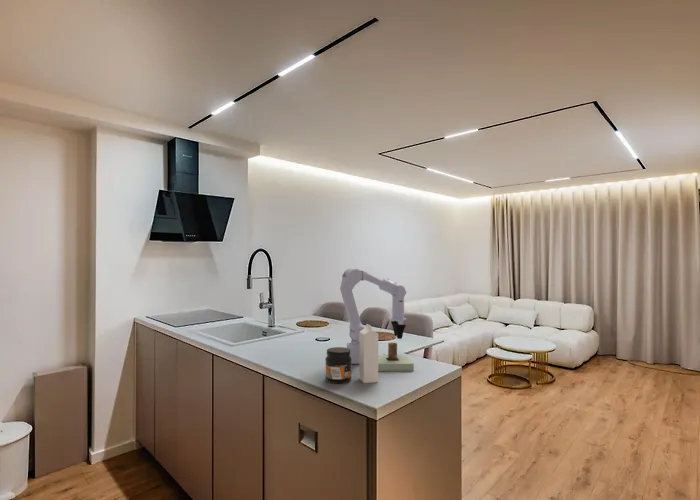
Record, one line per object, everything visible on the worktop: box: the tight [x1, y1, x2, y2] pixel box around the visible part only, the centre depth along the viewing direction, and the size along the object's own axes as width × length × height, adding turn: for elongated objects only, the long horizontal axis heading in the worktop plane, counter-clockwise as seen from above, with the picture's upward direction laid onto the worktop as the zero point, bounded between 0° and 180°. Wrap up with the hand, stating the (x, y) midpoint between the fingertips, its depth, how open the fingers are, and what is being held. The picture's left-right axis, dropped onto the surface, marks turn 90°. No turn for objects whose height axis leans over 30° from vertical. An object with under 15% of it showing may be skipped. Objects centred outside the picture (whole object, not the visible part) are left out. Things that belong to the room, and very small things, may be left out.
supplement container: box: [324, 346, 352, 384], centre depth 148 cm, size 10×10×12 cm
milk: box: [358, 323, 379, 384], centre depth 148 cm, size 6×6×22 cm
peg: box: [387, 342, 398, 361], centre depth 169 cm, size 4×4×10 cm
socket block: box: [378, 354, 414, 372], centre depth 169 cm, size 16×16×3 cm
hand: (398, 337), depth 183 cm, fingers open, 7 cm apart
